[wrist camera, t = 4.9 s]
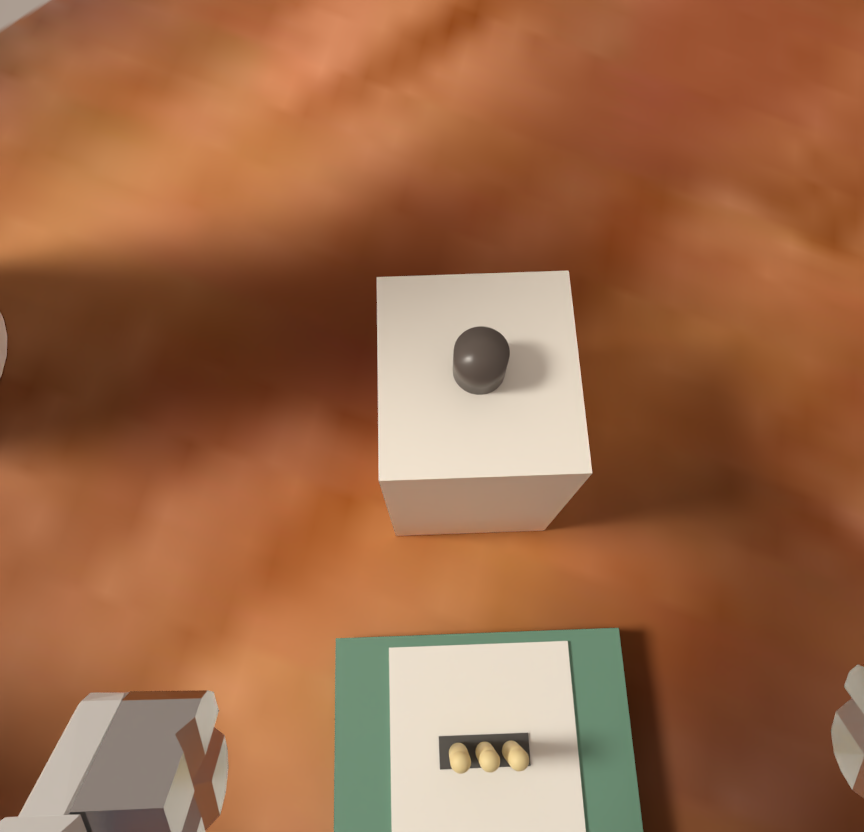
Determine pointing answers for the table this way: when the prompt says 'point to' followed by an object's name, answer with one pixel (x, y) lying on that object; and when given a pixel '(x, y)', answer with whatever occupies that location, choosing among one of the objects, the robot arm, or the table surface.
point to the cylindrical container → (2, 344)
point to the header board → (484, 734)
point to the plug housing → (479, 401)
